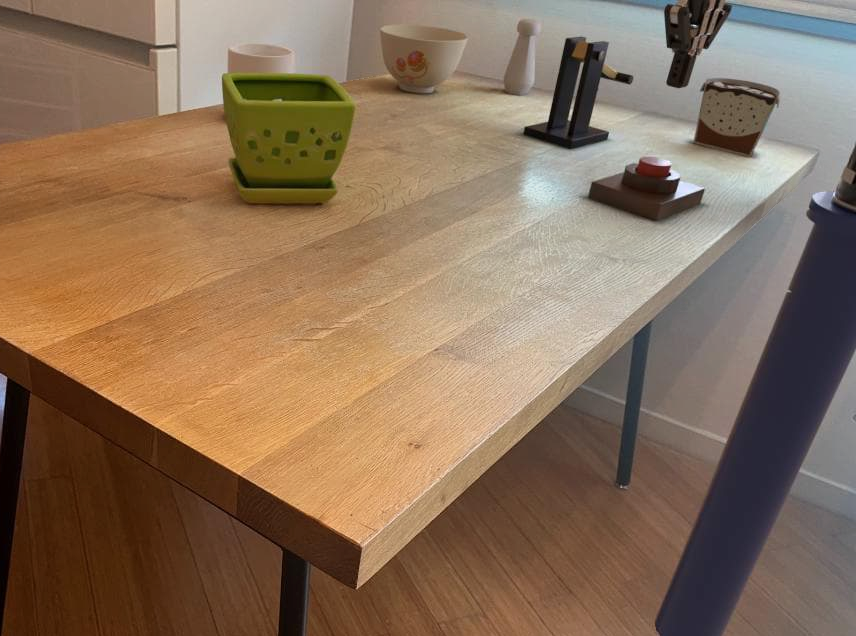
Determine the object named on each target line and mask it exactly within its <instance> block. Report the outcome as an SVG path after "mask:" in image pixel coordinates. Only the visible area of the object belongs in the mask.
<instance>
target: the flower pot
mask: <svg viewBox="0 0 856 636" xmlns="http://www.w3.org/2000/svg"><path fill="white" fill-rule="evenodd" d="M221 91H222V92H221V93H222V103H223V111H224V118H225V122H226V123H225V124H226V127H227V132H228V136H229V140H230V144H231V147H232V151H233V154H234V156H235V157H229V158H228V160H227V161H228V163H227V164H228V166H229V169H230V172H231V175H232V177H233V180H234V183H235V185H236V186H235V187H236V189H237V191H238V193H239V195H240V197H241V198H242V199H243V200H244V201H245V203H247V204H248V205H249V204H250V205H255V204H315V205H317V206H318V205H319V206H322V205H324V203H327V202H328V201H330V200H331V199H333V198H334V197H335V196H336V195H337V194H338V192H339V189H338V186H337V184H336V183H335V181H334V179H333V177H334V175H335V174H336V172H337V170H338V168H339V167H340V164H341V162H342V160H343V158H344V155H345V153H346V150H347V147H348V143H349V141H350V136H351V132H352V128H353V123H354V118H355V111H356V105H355V104H356V103H355V102H354V99H353V98H352V97H351V96H350V94H349V93H348V92H347V91H346V90H345V89H344V87H342V85H341V84H340V83H338V82H337V80H335V79H334V78H332V76H329V75H326V74H315V73H314V74H313V73H295V74H287V73H228V72H225V73H222V75H221ZM243 99H247V100H243ZM274 99H282V101H273V100H274Z"/></svg>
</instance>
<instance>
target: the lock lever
mask: <svg viewBox="0 0 856 636" xmlns="http://www.w3.org/2000/svg"><path fill="white" fill-rule="evenodd" d="M588 43H589V42H588V41H586V42H583V41H578V42H577V44H576V47H575V49H574V52H573V54H572V57H574V58H575V59H576V60H578V61H579V62H581V64H582V63H583V64H584V59H585V55H586V51H587V46H588ZM600 79H605V80H609V81H613V82H617V83H621V84H625V85H631V84H632V83H633V82H634V75H633V74H628V73H624V72H619V71H616V70H615V69H613V67H611V66H610V65H609V64H607V63H606V62H605V61H604V66H603V70H602V74H601V78H600Z"/></svg>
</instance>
